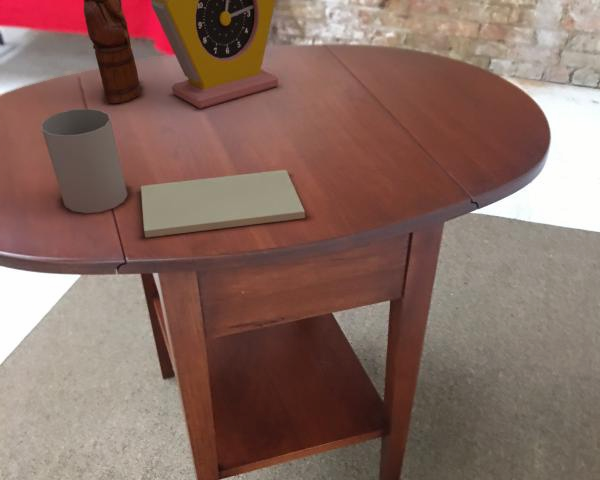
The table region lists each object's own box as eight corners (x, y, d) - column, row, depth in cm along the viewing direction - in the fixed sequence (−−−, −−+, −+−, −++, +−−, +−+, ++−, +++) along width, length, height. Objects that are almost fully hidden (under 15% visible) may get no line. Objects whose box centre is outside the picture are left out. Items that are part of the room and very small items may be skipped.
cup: (95, 177, 89) (76, 104, 82) (139, 191, 86) (124, 116, 79) (50, 203, 84) (26, 127, 77) (96, 218, 81) (75, 141, 74)
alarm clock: (186, 114, 105) (164, -42, 90) (158, 98, 110) (133, -52, 95) (291, 83, 114) (287, -63, 99) (261, 70, 119) (253, -71, 104)
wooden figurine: (140, 103, 109) (117, -20, 96) (102, 106, 108) (74, -18, 95) (141, 79, 117) (120, -37, 104) (106, 82, 116) (80, -35, 104)
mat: (145, 237, 77) (143, 230, 77) (142, 192, 86) (140, 185, 85) (304, 218, 80) (304, 211, 79) (286, 176, 88) (286, 169, 88)
